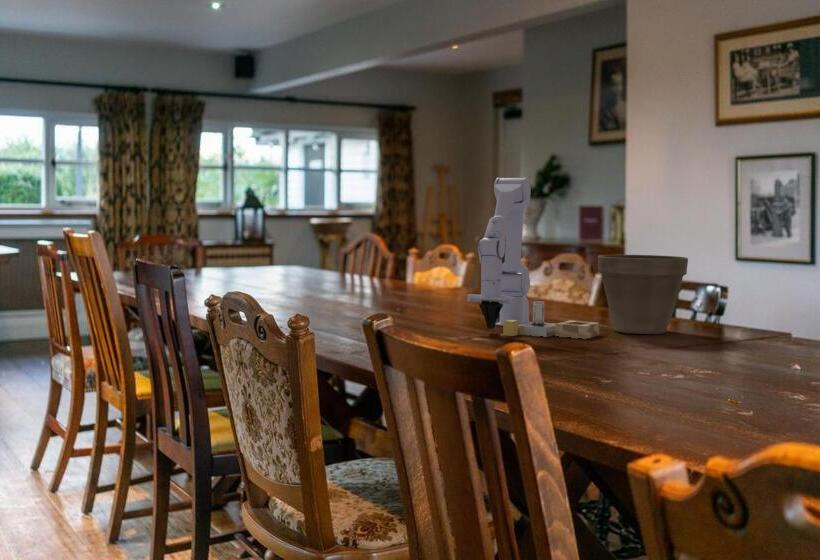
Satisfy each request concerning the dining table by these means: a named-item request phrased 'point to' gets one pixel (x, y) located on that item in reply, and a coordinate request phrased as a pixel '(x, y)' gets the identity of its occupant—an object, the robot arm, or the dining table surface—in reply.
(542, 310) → the drill peg
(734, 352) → the dining table surface
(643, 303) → the plant pot
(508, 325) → the yellow block
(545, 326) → the socket block
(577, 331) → the rack
